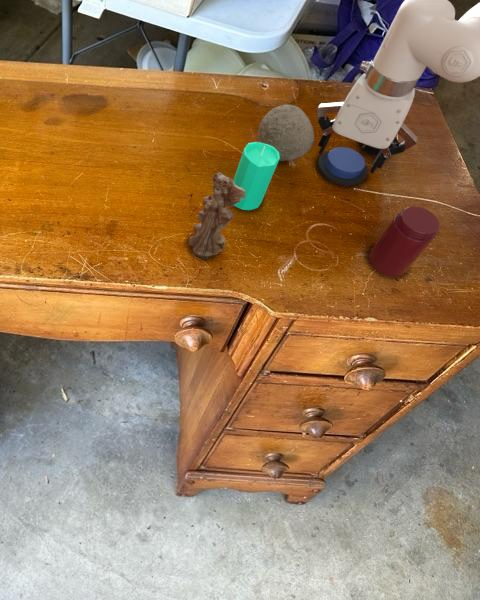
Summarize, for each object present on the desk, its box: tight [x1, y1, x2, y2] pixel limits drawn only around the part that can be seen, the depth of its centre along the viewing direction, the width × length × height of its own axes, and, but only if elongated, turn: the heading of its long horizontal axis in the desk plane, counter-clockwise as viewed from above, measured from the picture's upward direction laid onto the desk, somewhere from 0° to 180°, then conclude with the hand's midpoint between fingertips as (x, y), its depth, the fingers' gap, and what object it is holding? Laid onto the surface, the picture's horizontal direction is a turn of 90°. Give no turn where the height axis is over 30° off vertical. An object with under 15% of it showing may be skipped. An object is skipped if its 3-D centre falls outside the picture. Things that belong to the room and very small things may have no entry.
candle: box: [233, 141, 280, 211], centre depth 98 cm, size 6×6×12 cm
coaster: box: [317, 150, 368, 187], centre depth 108 cm, size 9×9×1 cm
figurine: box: [188, 171, 246, 259], centre depth 90 cm, size 7×6×15 cm
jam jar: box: [368, 205, 440, 277], centre depth 91 cm, size 6×6×10 cm
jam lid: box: [325, 146, 366, 179], centre depth 107 cm, size 7×7×2 cm
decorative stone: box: [257, 103, 315, 162], centre depth 105 cm, size 10×8×10 cm
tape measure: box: [357, 135, 400, 157], centre depth 110 cm, size 7×7×4 cm
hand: (347, 159), depth 106 cm, fingers open, 9 cm apart
